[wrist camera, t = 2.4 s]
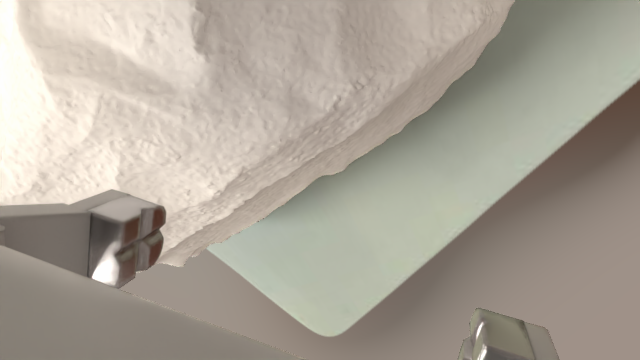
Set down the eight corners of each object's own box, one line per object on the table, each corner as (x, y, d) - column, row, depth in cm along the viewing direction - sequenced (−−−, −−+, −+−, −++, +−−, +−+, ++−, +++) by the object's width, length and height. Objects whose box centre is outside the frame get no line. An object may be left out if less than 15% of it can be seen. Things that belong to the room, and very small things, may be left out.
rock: (598, 76, 27) (223, 329, 40) (445, -65, 41) (205, 156, 55) (283, -677, 9) (-215, 243, 22) (204, -463, 23) (-69, 17, 36)
